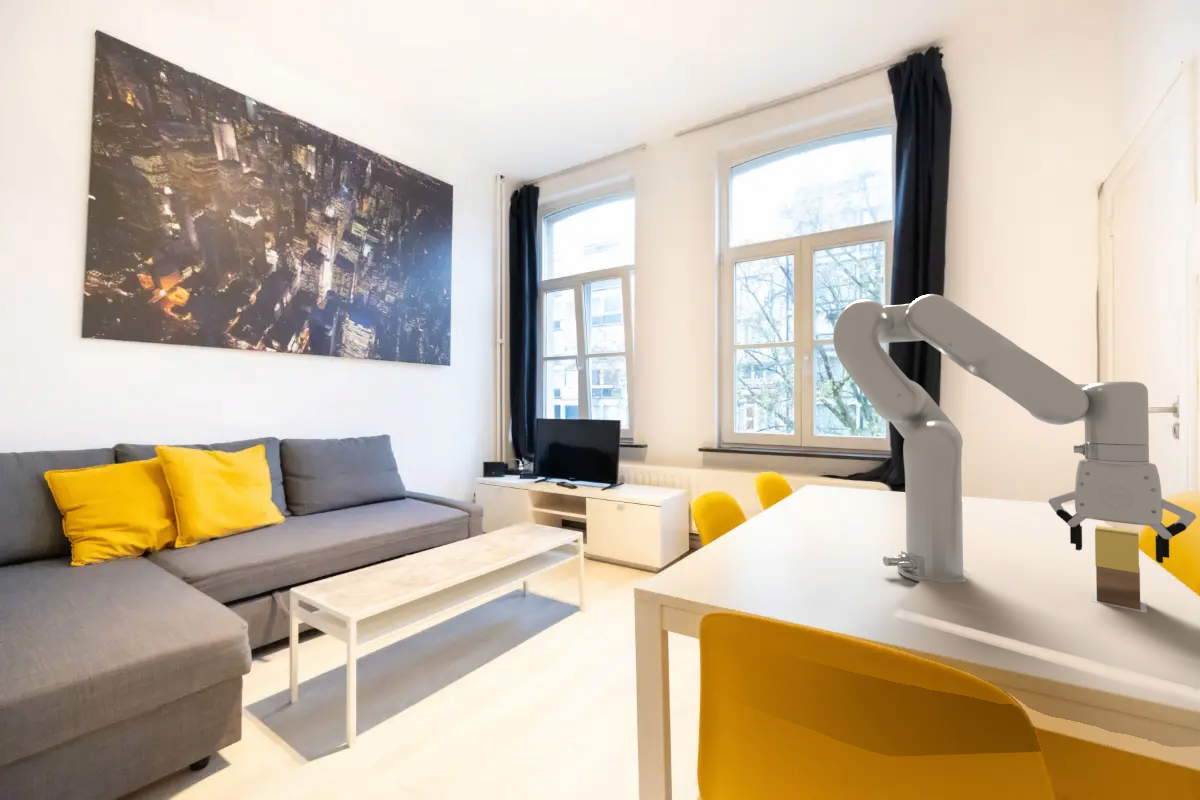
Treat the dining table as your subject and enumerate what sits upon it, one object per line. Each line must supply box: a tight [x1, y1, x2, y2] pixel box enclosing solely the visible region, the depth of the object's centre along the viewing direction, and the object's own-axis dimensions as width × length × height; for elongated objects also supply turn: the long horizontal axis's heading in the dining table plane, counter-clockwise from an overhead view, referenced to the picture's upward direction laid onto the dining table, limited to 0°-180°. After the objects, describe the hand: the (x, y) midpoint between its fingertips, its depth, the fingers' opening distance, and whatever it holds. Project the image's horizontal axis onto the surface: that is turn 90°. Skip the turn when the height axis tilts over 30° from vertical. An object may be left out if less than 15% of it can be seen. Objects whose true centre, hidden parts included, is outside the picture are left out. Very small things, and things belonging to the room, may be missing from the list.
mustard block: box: [1094, 525, 1140, 573], centre depth 83 cm, size 5×5×6 cm
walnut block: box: [1095, 565, 1141, 610], centre depth 83 cm, size 5×5×6 cm
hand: (1117, 554), depth 83 cm, fingers open, 9 cm apart
